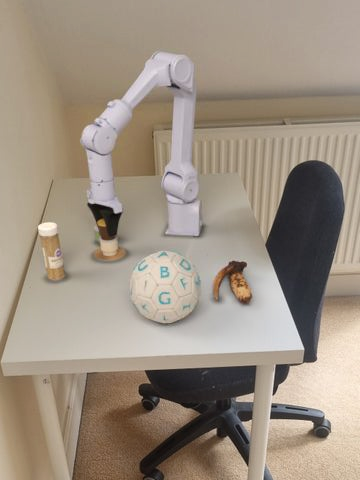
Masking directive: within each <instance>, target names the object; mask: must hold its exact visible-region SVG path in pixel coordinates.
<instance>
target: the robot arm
mask: <svg viewBox="0 0 360 480" xmlns="http://www.w3.org/2000/svg"><path fill="white" fill-rule="evenodd" d="M161 87H162V88H163V87H166V88H167V89H168V90H169V91H170V92H171V94H172V95H173V110H172V111H173V112H172V129H171V130H172V131H171V149H170V152H171V153H170V162H168V163H167V164H166V165H165V166H164V173H163V176H162V178H161V184H160V186H161V189H162V192H164V194H165V197H166V199H167V221H168V222H167V223H168V225H167V229H166V230H165V235H183V236H185V235H187V236H192V237H199V236H200V233H201V231H202V229H203V202H202V200H201V199H198V198H197V197H198V195H199V193H200V183H199V179H198V177H199V173H198V171H197V170H196V168H195V165H194V164H193V163H192V159H193V144H194V132H195V131H194V129H195V117H196V105H197V104H196V103H197V84H196V80H195V64H194V63H193V61H192V60H191V59H190V58H189V57H188V56H187V55H185V54H177V53H171V52H166V51H162V50H157V51H155V52H154V53H153V54H152V55H151V56H150V58H149V59H147V61H145V64H144V69H143V70H142V72H140V74H139V76H138V77H137V78H136V79H135V81H134V82H133V84H132V85H131V86H130V87H129V89H128V90H127V91H126V92H125V93H124V95H123V96H122V97H121V99H113V100H112V101H111V100H110V101H109V102H108V103H107V104H106V105H107V107H106V109H105V110H104V111H103V112H102V113H101V114H100V115H99V116H98V117H96V118H95V119H94V122H93V123H91V124H88V125H86V126H85V127H84V128H83V131H82V132H81V137H80V138H79V142H80V144H81V147H83V149H85V153H86V157H87V165H88V174H89V183H90V188H89V189H86V196H87V198H88V199H87V200H88V202H87V204H86V206H87V207H88V209H89V210H90V212H91V214H92V216H93V218H94V220H95V221H94V222H95V223H96V224H95V225H97V226H98V224H97V222H98V220H100V219H104V221H105V224H106V229H107V233H108V236H109V237H112V236H115V235H116V236H117V235H118V228H119V223H120V220H121V217H122V214H123V213H124V208H123V204H122V203H121V202H120V200H119V199H118V197H117V195H116V190H115V178H114V168H113V159H112V158H113V157H112V151H113V150H114V148H115V146H116V140H117V139H118V136H119V135H120V133H122V131H123V130H124V129H125V128H126V127H127V126H128V124H129V123H130V122H131V121H132V119H133V111H134V110H135V109H136V108H137V106H139V105H140V104H141V103H142V102H143V101H144V100H145V99H146V98H147V96H148V95H150V94H151V92H152V91H153V90H154V89H156V88H161Z"/></svg>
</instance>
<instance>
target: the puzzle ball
mask: <svg viewBox="0 0 360 480" xmlns="http://www.w3.org/2000/svg"><path fill="white" fill-rule="evenodd" d="M128 284H129V295H130V299H131V302H132V303H133V306H134V307H135V309H136V311H137V312H139V314H141V315H142V316H143V317H145V318H147V319H149V320H151V321H154V322H157V323H161V324H163V325H164V324H171V323H174V322H177V321H179V320H182V319H183V318H186V317H188V316H189V314H191V313H192V311H193V310H194V309H195V308H196V306H197V304H198V303H199V300H200V296H201V292H202V287H201V284H202V283H201V279H200V275H199V273H198V270H197V269H196V267H195V265H194V264H193V263H192V261H190V260H189V259H188V258H187V257H186V256H184V255H182V254H180V253H178V252H174V251H170V250H169V251H168V250H159V251H156V252H153V253H149V254H148V255H145V256H144V257H143V258H142V259H141V260H140V261H139V262H138V263H137V264H136V265H135V266H134V267H133V270H132V274H131V276H130V279H129V283H128Z"/></svg>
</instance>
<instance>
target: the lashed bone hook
mask: <svg viewBox="0 0 360 480" xmlns="http://www.w3.org/2000/svg"><path fill="white" fill-rule="evenodd" d="M247 267H248V263H247V262H246V261H236V260H232V261H228V264H227V265H225V266H224V267H223V268H222V269H221V270H219V271H218V272H217V274H216V276H215V278H214V280H213V284H212V293H213V296H214V298H215V300H216V302H219V297H220V296H219V293H220V292H219V291H220V286H221V284H222V282H223V280H224V279H225V277H227V278H228V281H229V285H230V288H231V291H232V292H233V293H234V295H235V297H236V298H237V299H238V301H239V302H240V303H241V304H245V305H246V304H248V303H250V301H251V299H252V298H253V294H252V290H251V288H250V285H249V283H248V281H247V279H246V277H245V276H244V273H243V272H244V270H245V268H247Z"/></svg>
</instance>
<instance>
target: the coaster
mask: <svg viewBox="0 0 360 480" xmlns="http://www.w3.org/2000/svg"><path fill="white" fill-rule="evenodd" d="M126 254H127V251H126V249H125V248H123V247H121V246H118V249H117V254H116V255H113V256H105V255H103V251H102V250H101V248H98V249H97V250H95V252H94V253H93V255H94V257H95V258H96V259H99V260H102V261H114V260H119V259H121V258H123V257H124V256H125V255H126Z"/></svg>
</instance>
